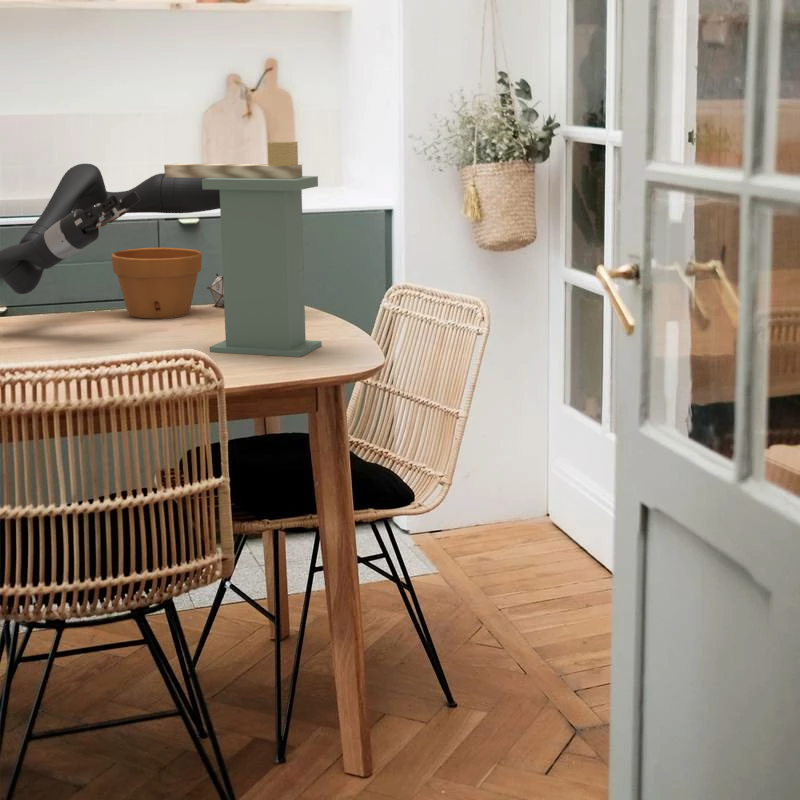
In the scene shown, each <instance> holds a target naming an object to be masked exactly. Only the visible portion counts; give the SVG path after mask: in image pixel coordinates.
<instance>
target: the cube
mask: <svg viewBox="0 0 800 800" xmlns="http://www.w3.org/2000/svg"><path fill="white" fill-rule="evenodd" d="M298 151H299V149H298V141H271V142H267V160H268V161H267V164H268V166H293V165H299V152H298Z"/></svg>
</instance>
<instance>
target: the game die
mask: <svg viewBox="0 0 800 800" xmlns="http://www.w3.org/2000/svg"><path fill="white" fill-rule="evenodd" d="M215 276H216V278H215V279H214V281H213V282H212V284H211V285H210V286H207V287H206V289H208V290H210V292H211V295H212V296H213V299H214V301H215V304H214V307H215V306H216V307H217V306H218V305H224V287H223V275H219V274H218V273H217V272H216V273H215Z"/></svg>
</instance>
